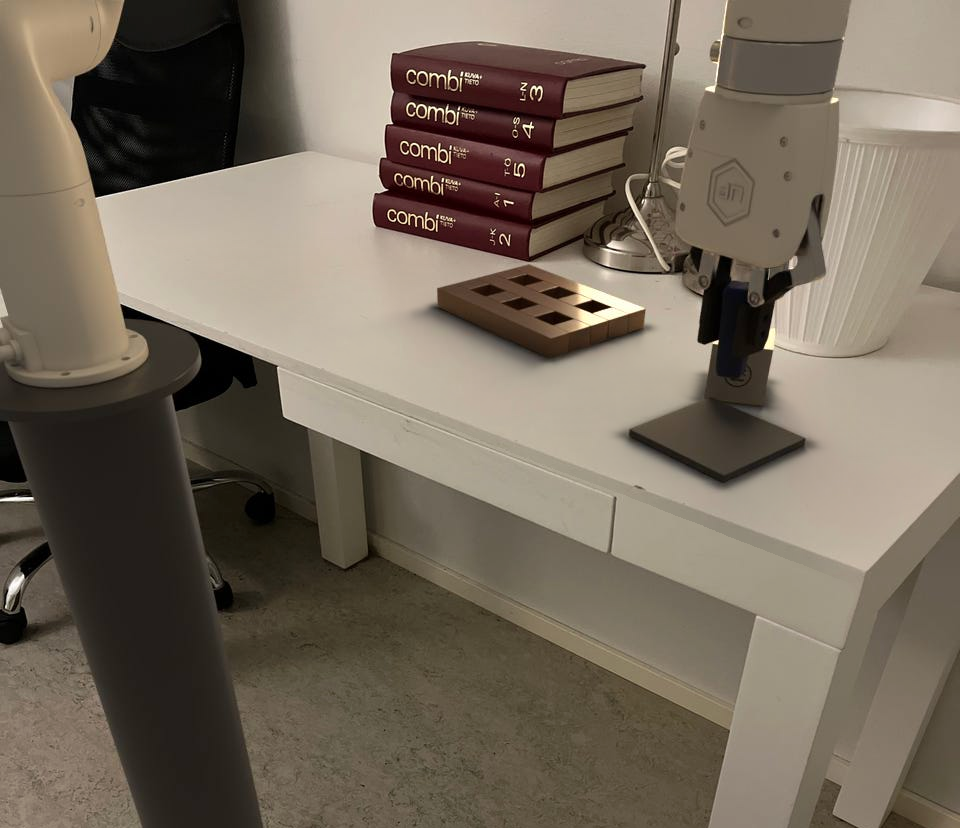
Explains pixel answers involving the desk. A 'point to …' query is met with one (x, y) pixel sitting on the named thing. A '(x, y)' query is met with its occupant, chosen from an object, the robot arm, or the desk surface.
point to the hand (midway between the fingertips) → (730, 344)
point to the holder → (541, 310)
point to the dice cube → (742, 377)
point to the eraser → (730, 330)
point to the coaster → (717, 438)
